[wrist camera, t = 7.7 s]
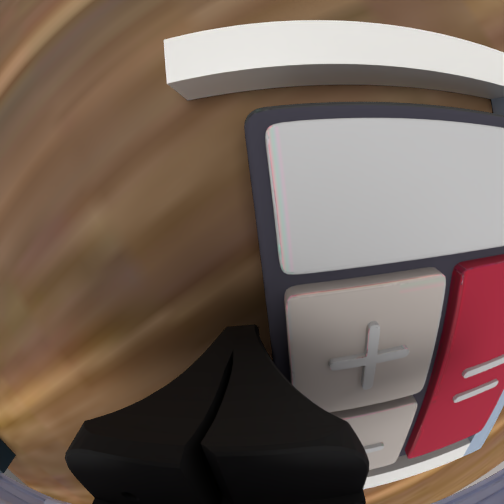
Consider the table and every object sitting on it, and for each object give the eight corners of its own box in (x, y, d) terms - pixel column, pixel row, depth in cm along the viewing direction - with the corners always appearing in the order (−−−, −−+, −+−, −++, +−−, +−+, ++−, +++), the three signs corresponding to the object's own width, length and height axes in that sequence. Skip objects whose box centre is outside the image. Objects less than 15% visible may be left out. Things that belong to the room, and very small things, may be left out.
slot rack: (465, 424, 14) (480, 448, 12) (253, 470, 15) (252, 502, 13) (504, 74, 8) (537, 66, 6) (183, 64, 9) (163, 39, 7)
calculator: (286, 491, 11) (238, 103, 6) (283, 427, 15) (247, 122, 10) (486, 436, 10) (561, 126, 5) (457, 389, 14) (493, 123, 9)
